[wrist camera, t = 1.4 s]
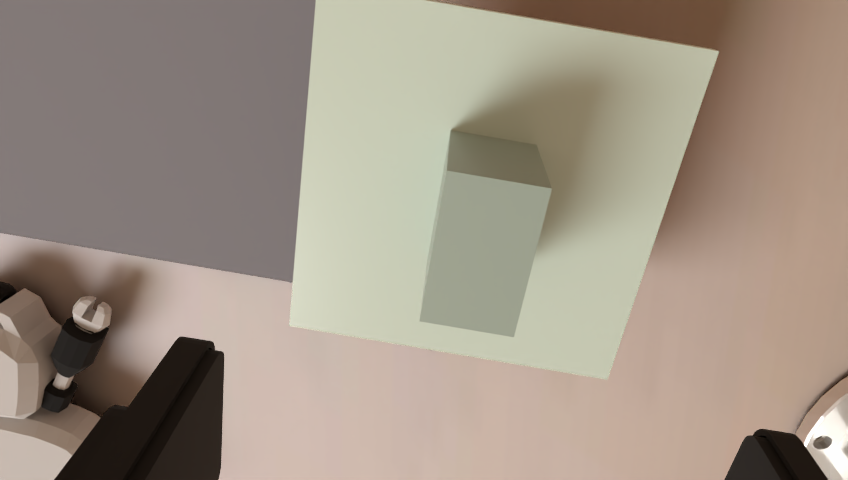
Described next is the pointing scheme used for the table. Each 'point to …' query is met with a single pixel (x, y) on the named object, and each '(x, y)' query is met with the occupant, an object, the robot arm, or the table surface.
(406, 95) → the cover
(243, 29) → the mat
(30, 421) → the robot toy
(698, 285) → the table surface
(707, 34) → the table surface
